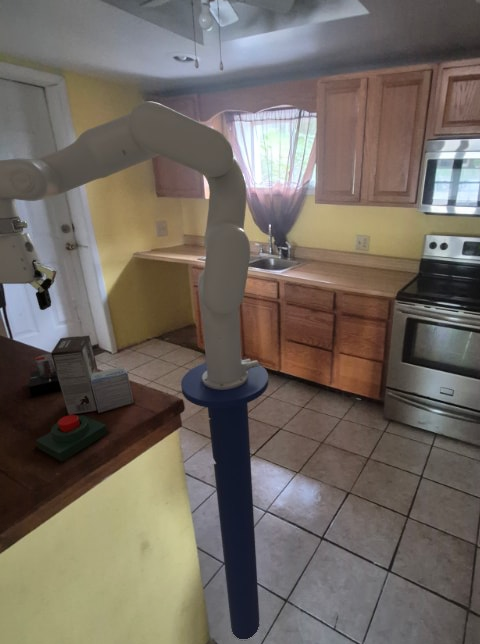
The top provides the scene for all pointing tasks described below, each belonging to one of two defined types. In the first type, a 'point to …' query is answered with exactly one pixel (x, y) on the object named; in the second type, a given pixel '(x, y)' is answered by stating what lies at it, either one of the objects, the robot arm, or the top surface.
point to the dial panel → (43, 384)
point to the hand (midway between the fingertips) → (22, 308)
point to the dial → (46, 366)
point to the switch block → (71, 438)
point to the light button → (68, 423)
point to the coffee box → (76, 372)
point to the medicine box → (111, 389)
